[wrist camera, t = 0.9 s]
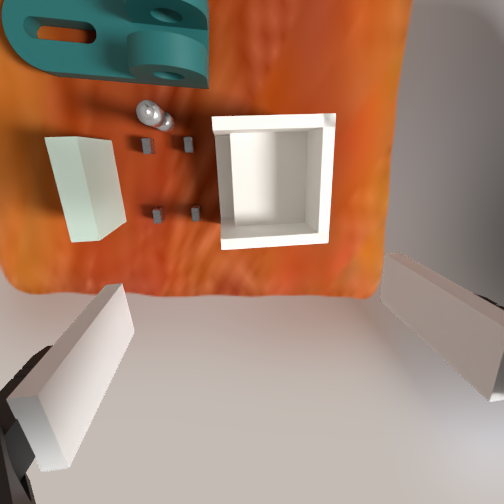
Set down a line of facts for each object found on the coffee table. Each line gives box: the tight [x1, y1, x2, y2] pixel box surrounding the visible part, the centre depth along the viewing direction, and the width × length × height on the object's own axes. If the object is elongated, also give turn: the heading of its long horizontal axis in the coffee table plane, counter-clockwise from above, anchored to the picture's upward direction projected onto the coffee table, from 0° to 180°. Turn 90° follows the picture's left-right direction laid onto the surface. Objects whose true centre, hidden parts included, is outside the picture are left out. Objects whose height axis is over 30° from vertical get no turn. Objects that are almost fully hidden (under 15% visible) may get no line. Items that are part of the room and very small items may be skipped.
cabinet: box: [212, 113, 336, 250], centre depth 29 cm, size 11×10×10 cm
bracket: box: [2, 0, 209, 89], centre depth 24 cm, size 18×7×8 cm, turn 87°
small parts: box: [136, 100, 201, 223], centre depth 28 cm, size 11×5×10 cm, turn 2°
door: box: [44, 136, 126, 242], centre depth 28 cm, size 9×4×8 cm, turn 2°
